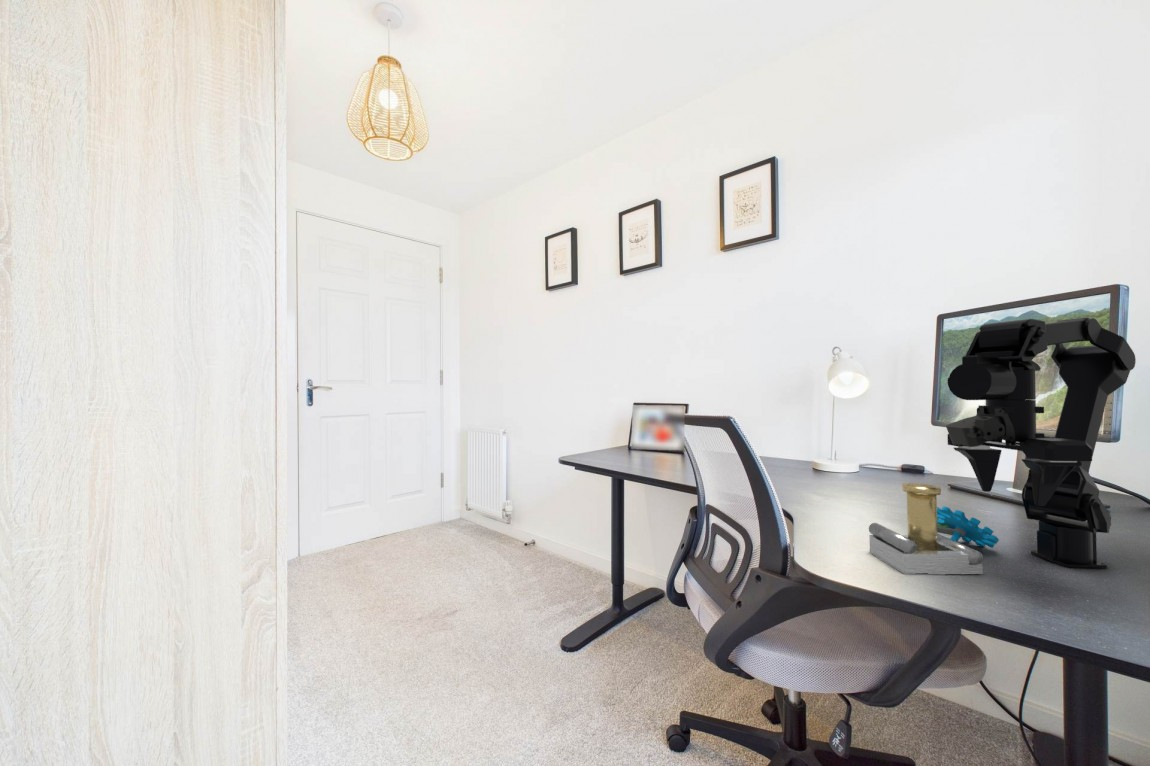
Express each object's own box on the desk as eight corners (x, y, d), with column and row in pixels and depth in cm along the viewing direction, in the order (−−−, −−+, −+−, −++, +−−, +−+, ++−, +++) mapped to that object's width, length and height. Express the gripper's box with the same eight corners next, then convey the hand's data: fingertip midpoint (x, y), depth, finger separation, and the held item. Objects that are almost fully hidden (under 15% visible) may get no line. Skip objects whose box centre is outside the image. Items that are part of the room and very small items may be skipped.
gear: (1014, 547, 78) (972, 507, 78) (997, 573, 77) (954, 532, 77) (955, 535, 89) (918, 500, 89) (939, 558, 88) (901, 522, 88)
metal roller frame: (940, 553, 79) (939, 523, 79) (983, 575, 70) (982, 540, 70) (869, 552, 80) (868, 522, 80) (903, 573, 71) (902, 539, 71)
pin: (936, 560, 77) (934, 484, 77) (948, 571, 72) (946, 490, 72) (900, 555, 79) (898, 481, 79) (908, 566, 74) (907, 487, 74)
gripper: (915, 398, 81) (916, 484, 80) (1010, 401, 62) (1011, 513, 62) (980, 398, 80) (981, 485, 80) (1095, 401, 61) (1097, 514, 61)
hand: (1011, 498), depth 71 cm, fingers open, 9 cm apart
